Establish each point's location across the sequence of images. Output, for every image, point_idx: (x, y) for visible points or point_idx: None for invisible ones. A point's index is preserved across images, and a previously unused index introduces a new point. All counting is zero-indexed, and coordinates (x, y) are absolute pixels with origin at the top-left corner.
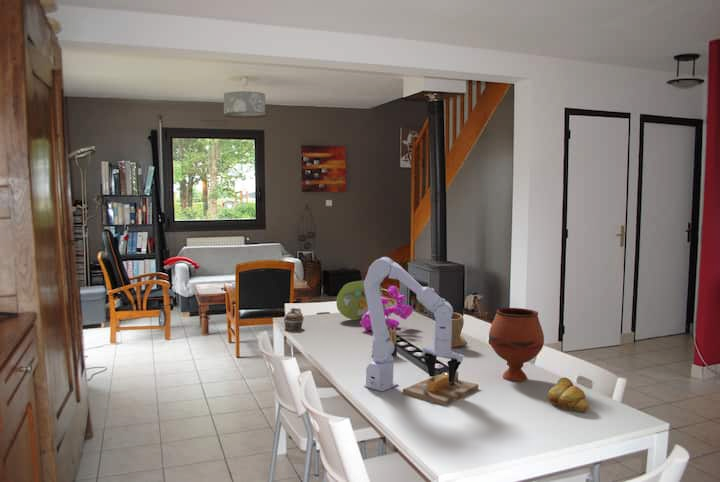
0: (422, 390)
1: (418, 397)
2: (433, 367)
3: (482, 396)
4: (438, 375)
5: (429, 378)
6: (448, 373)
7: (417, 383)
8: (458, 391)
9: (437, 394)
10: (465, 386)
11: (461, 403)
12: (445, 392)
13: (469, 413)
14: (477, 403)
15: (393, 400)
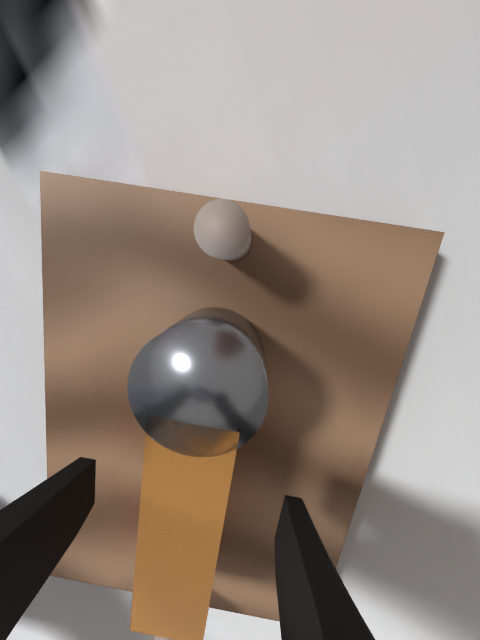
0: None
1: None
2: (18, 553)
3: (475, 375)
4: (141, 495)
5: (46, 318)
6: (191, 389)
7: (49, 457)
8: (337, 468)
9: (241, 565)
10: (352, 344)
11: (378, 534)
12: (268, 519)
13: (448, 624)
14: (463, 498)
15: (88, 625)
